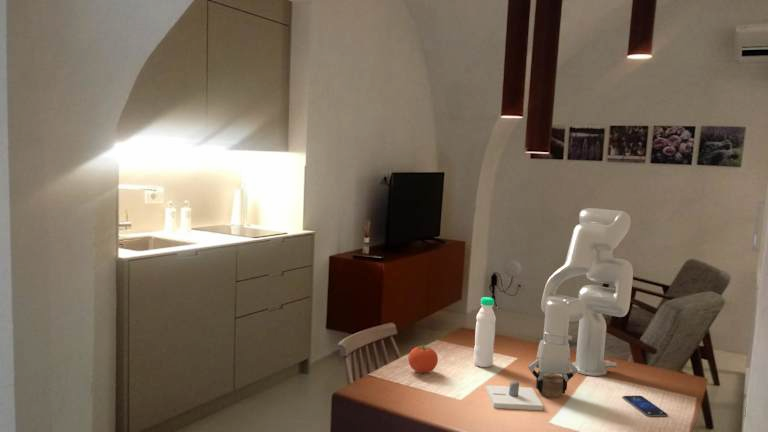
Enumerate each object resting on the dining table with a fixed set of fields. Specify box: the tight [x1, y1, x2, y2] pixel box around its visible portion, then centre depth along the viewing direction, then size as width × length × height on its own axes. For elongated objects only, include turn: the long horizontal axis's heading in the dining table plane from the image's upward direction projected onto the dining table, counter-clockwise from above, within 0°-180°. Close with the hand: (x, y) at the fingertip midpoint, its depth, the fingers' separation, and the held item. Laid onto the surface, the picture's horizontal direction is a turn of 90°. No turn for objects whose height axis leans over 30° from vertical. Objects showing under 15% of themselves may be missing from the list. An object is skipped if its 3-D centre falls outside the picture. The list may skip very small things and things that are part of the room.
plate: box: [485, 380, 544, 411], centre depth 186 cm, size 15×14×6 cm
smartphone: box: [621, 395, 669, 418], centre depth 187 cm, size 7×1×15 cm
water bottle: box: [472, 296, 497, 368], centre depth 216 cm, size 7×7×25 cm
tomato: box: [408, 344, 439, 374], centre depth 206 cm, size 10×10×10 cm
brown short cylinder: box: [539, 373, 564, 400], centre depth 192 cm, size 7×7×6 cm
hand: (550, 391), depth 192 cm, fingers closed on brown short cylinder, 6 cm apart
